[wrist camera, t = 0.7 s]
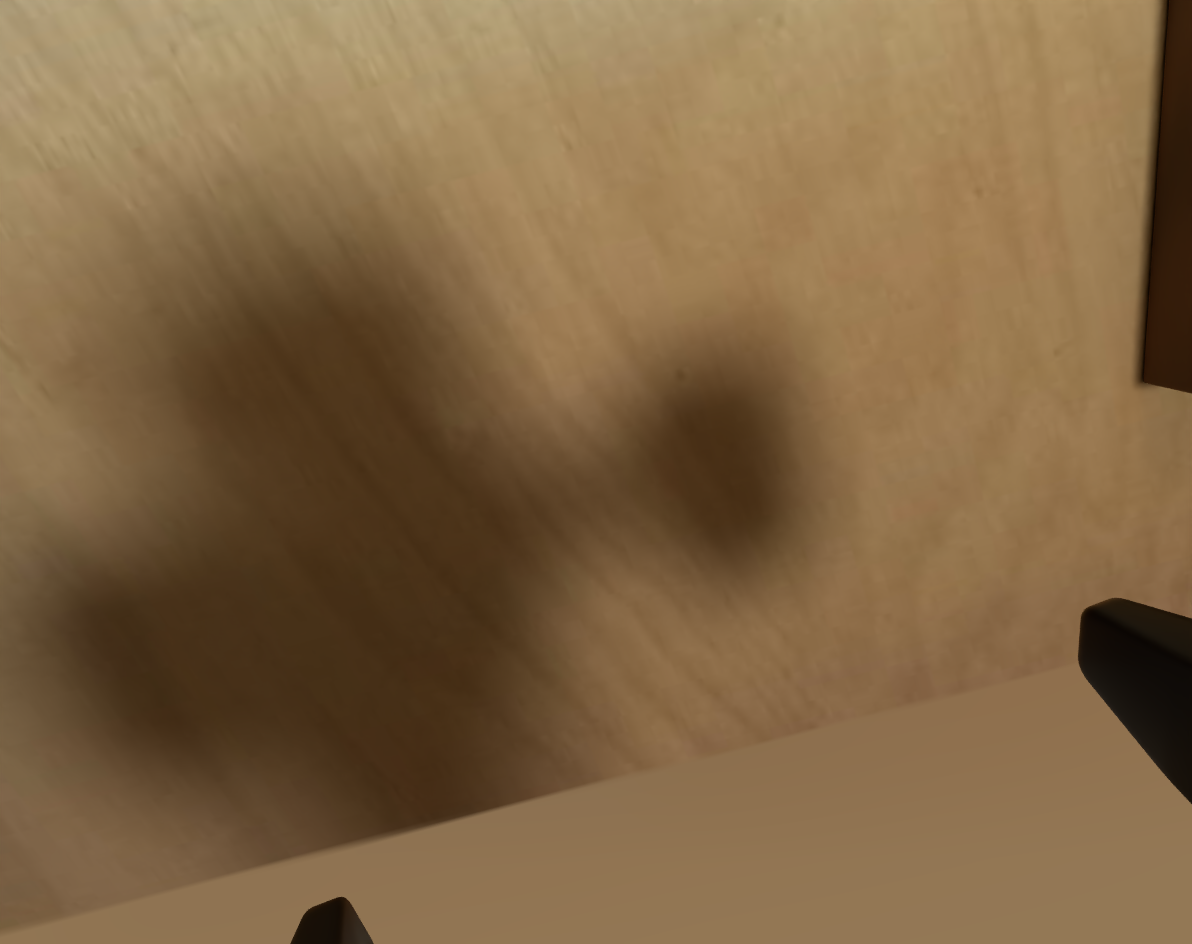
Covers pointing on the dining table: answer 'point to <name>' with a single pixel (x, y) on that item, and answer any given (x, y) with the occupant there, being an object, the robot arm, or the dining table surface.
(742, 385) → the dining table surface
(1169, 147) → the stand
